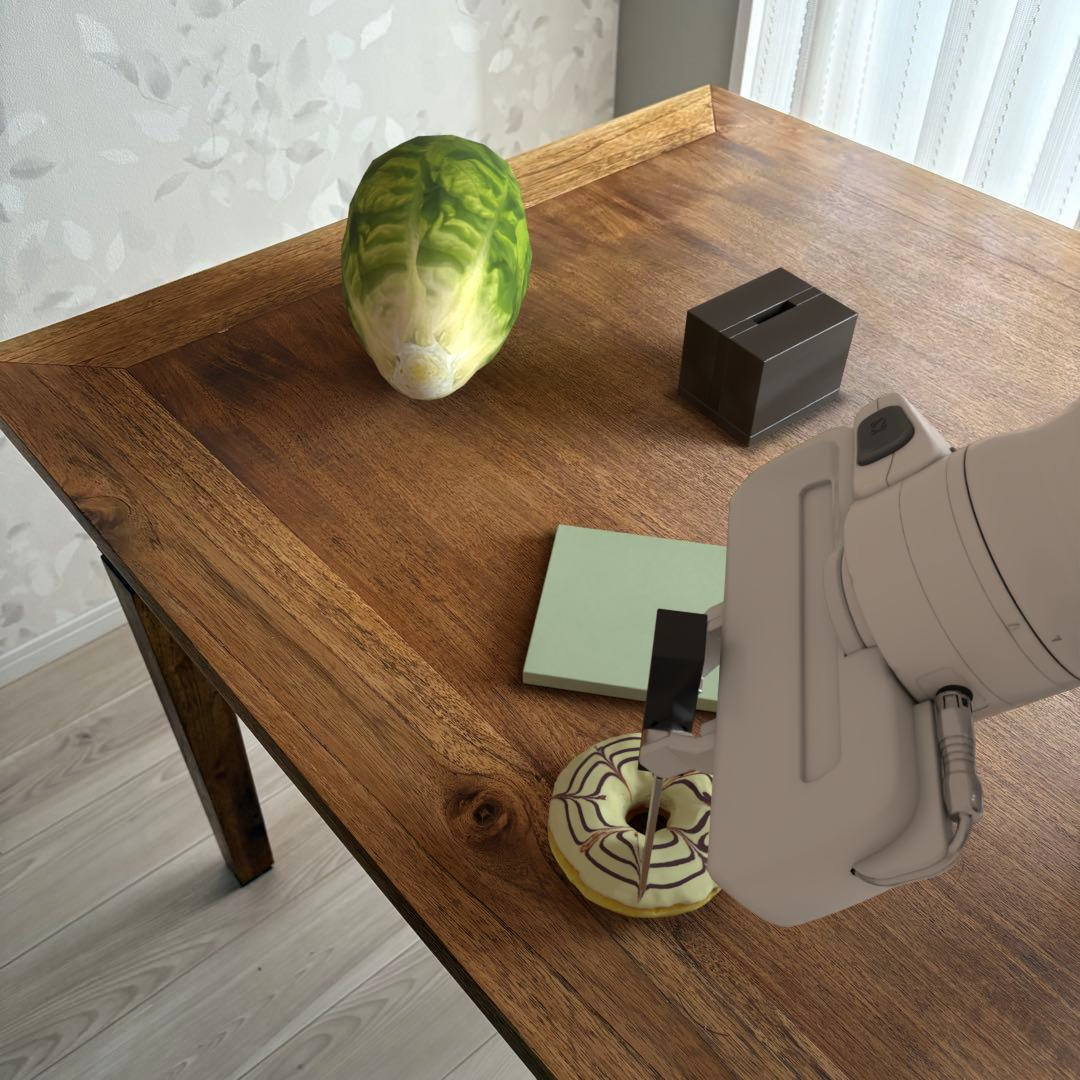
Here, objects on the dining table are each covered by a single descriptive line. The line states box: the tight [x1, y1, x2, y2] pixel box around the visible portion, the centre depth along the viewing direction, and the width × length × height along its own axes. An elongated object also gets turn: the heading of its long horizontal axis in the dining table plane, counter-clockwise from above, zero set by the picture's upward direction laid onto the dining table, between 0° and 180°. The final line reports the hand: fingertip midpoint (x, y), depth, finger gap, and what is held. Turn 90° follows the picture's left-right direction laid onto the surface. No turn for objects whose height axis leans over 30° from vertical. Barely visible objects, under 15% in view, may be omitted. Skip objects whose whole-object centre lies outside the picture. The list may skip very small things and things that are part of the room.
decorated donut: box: [547, 732, 722, 919], centre depth 59 cm, size 10×11×4 cm
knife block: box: [676, 266, 859, 448], centre depth 86 cm, size 8×10×8 cm
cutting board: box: [522, 523, 727, 713], centre depth 71 cm, size 20×13×1 cm, turn 80°
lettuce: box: [340, 134, 533, 402], centre depth 87 cm, size 15×27×16 cm, turn 0°
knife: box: [637, 608, 708, 891], centre depth 49 cm, size 2×3×18 cm, turn 171°
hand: (654, 717), depth 47 cm, fingers closed on knife, 2 cm apart
